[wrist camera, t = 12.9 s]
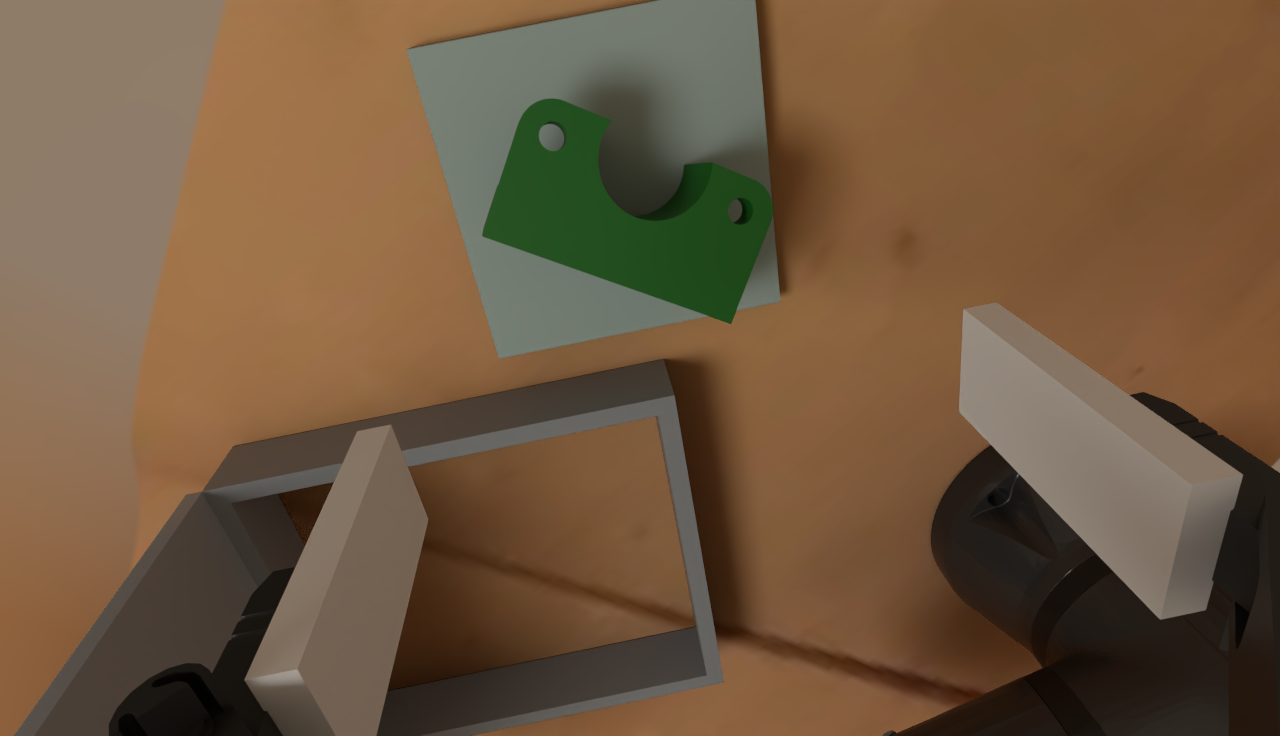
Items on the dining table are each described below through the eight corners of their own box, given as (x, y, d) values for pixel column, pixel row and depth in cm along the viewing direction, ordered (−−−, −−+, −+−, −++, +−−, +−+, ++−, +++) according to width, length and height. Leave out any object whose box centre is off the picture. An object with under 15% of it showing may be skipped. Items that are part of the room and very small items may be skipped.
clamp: (686, 175, 39) (808, 204, 32) (646, 281, 40) (757, 332, 33) (484, 81, 31) (586, 92, 24) (442, 214, 32) (529, 261, 25)
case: (663, 359, 40) (779, 742, 20) (711, 633, 50) (819, 1068, 30) (218, 449, 40) (-129, 935, 19) (360, 707, 50) (231, 1197, 30)
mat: (748, -19, 32) (754, -19, 31) (775, 294, 39) (780, 301, 38) (410, 47, 31) (406, 49, 31) (500, 349, 39) (499, 358, 38)
